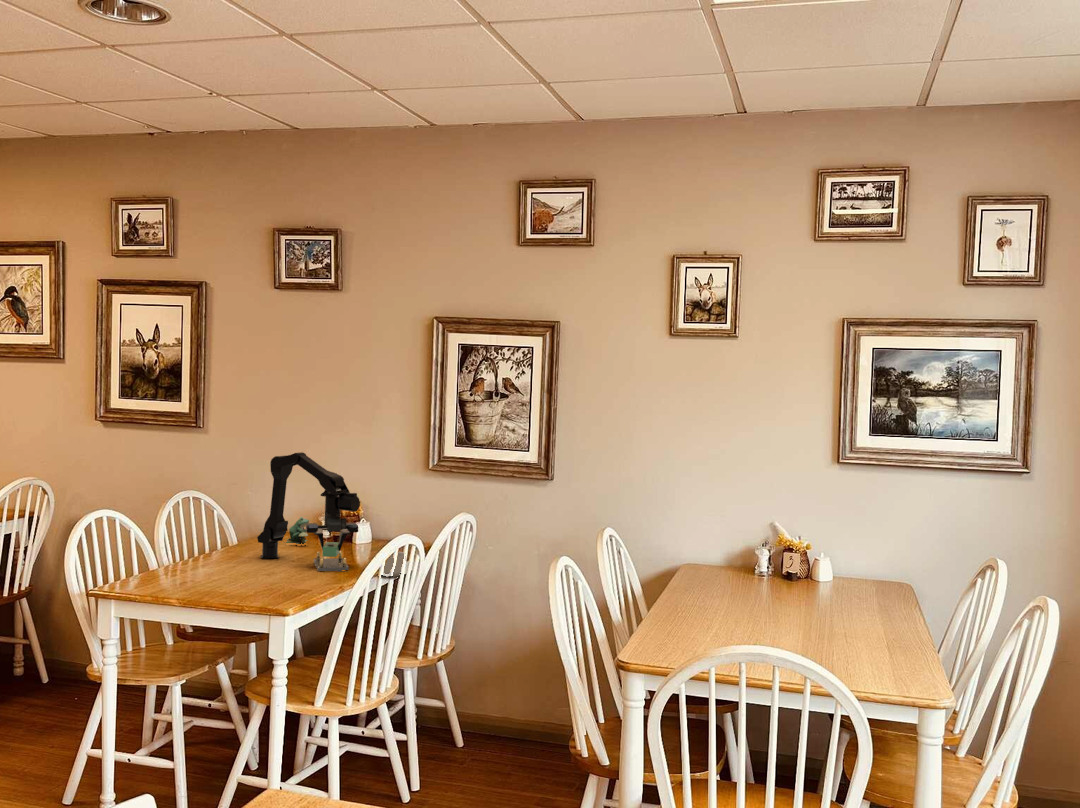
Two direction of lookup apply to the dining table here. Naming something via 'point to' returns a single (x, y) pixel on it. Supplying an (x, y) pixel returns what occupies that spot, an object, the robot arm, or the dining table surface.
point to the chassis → (331, 563)
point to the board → (330, 549)
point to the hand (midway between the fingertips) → (331, 550)
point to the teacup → (390, 562)
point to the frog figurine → (298, 532)
